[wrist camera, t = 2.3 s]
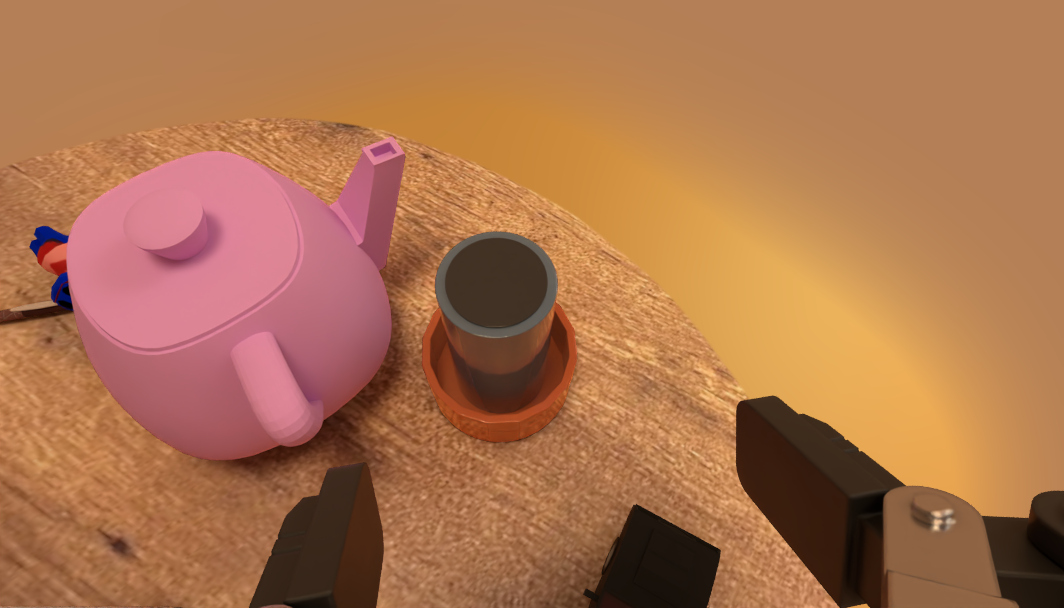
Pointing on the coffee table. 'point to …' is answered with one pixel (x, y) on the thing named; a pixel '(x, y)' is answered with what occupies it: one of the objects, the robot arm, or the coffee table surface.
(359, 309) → the teapot
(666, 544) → the toy car
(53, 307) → the pen
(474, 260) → the grey metal cylinder
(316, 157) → the coffee table surface
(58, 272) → the figurine
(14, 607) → the travel mug
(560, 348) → the orange round bowl
